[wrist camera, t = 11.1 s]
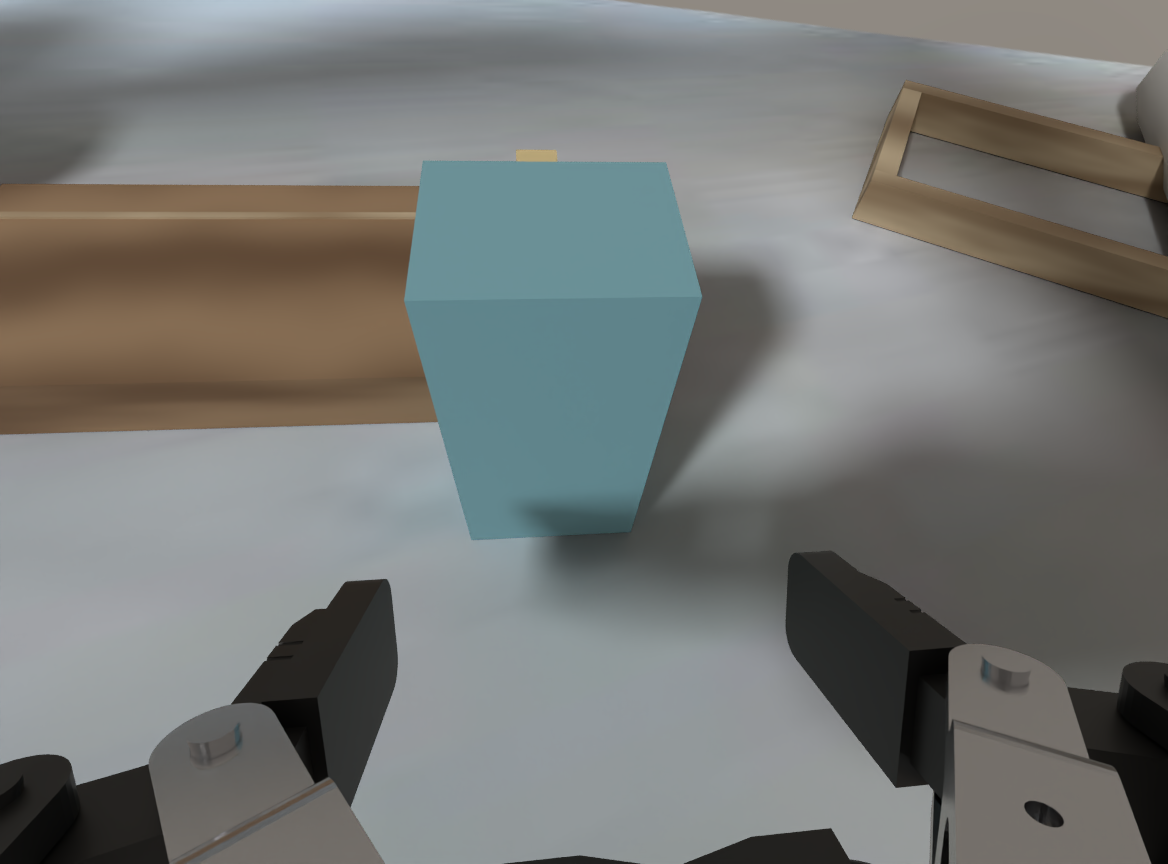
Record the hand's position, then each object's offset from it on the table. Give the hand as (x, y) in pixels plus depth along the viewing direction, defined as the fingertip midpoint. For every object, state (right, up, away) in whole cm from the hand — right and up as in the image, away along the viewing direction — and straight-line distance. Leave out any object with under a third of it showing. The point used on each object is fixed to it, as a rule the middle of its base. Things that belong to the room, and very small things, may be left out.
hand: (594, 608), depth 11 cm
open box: (-10, +8, +11) cm, 17 cm away
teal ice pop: (-2, +6, +10) cm, 12 cm away
